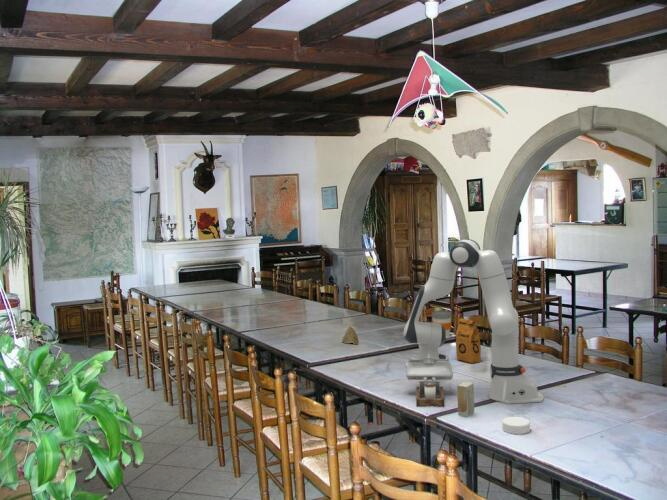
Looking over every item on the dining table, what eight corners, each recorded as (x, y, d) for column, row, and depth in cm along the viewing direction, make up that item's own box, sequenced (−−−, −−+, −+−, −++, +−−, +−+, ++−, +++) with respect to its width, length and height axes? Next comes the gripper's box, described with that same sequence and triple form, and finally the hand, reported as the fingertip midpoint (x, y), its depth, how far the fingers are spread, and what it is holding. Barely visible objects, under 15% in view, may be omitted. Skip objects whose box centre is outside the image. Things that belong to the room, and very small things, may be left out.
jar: (436, 400, 277) (435, 381, 276) (436, 404, 272) (435, 384, 272) (424, 400, 278) (424, 381, 277) (424, 404, 273) (424, 384, 272)
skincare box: (465, 410, 263) (464, 381, 262) (474, 412, 260) (474, 382, 259) (457, 415, 258) (456, 384, 257) (467, 417, 255) (466, 386, 254)
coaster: (534, 434, 236) (534, 424, 235) (507, 435, 235) (507, 426, 234) (524, 424, 245) (524, 415, 245) (498, 426, 245) (498, 417, 244)
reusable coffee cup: (431, 338, 398) (431, 314, 397) (432, 334, 410) (431, 310, 409) (452, 338, 396) (452, 314, 395) (452, 334, 408) (451, 310, 407)
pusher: (439, 394, 284) (439, 378, 284) (439, 398, 280) (439, 382, 279) (420, 394, 286) (419, 378, 285) (420, 398, 281) (419, 382, 280)
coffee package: (469, 364, 333) (468, 322, 332) (453, 360, 344) (452, 319, 342) (484, 361, 338) (483, 320, 337) (468, 357, 349) (467, 316, 347)
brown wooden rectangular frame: (442, 393, 287) (442, 386, 287) (444, 406, 269) (444, 399, 269) (416, 393, 289) (416, 386, 288) (416, 406, 271) (416, 399, 270)
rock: (363, 340, 390) (358, 335, 399) (355, 330, 387) (350, 325, 396) (349, 352, 388) (344, 346, 398) (341, 342, 386) (336, 336, 395)
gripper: (405, 356, 289) (405, 384, 281) (451, 356, 287) (453, 384, 278) (405, 363, 294) (405, 391, 285) (451, 363, 291) (453, 391, 282)
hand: (429, 387), depth 281 cm, fingers closed
